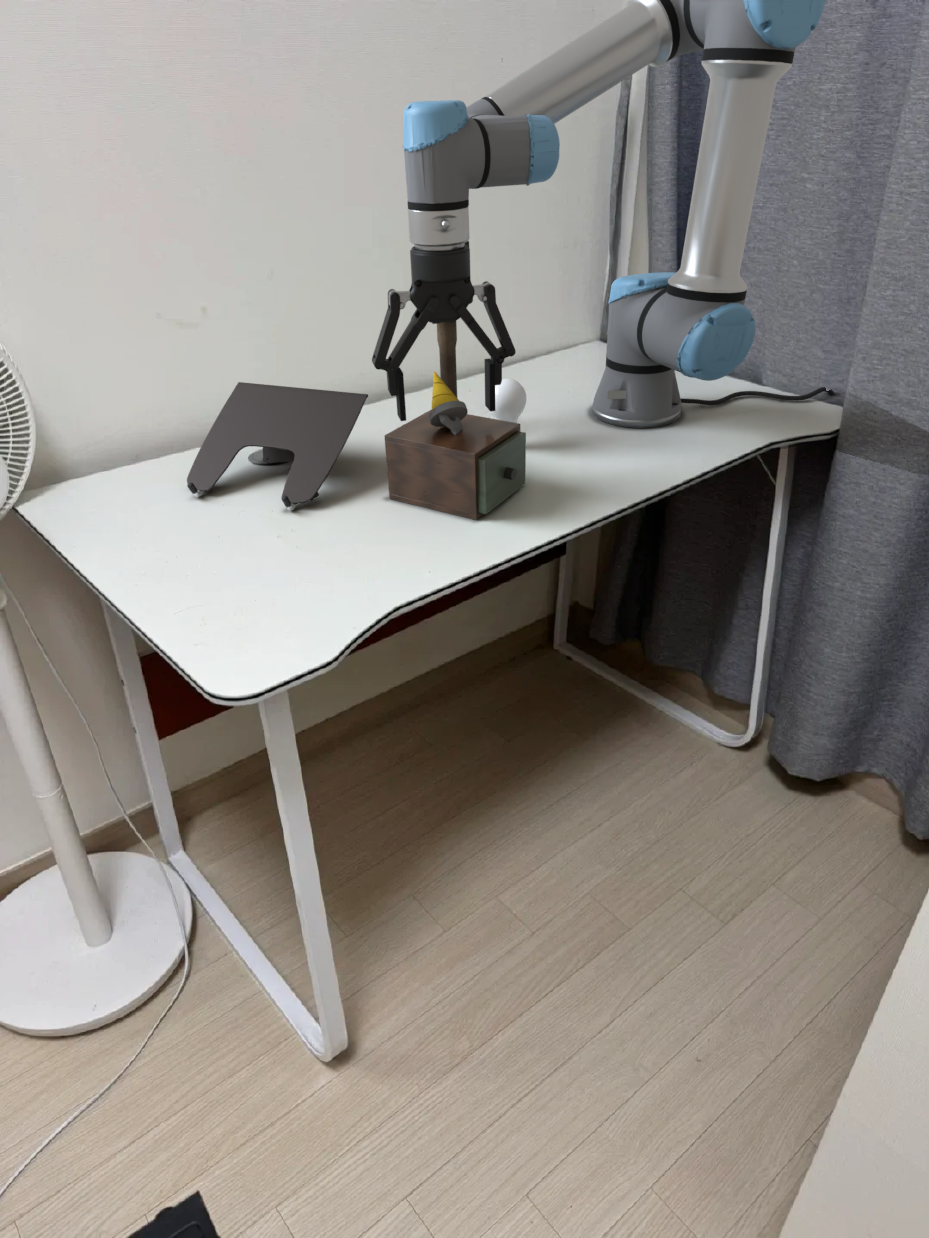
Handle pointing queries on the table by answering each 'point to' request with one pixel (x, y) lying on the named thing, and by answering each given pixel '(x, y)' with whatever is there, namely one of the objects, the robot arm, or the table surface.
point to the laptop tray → (279, 435)
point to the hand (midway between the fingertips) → (446, 413)
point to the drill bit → (446, 407)
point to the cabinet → (441, 462)
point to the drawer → (501, 471)
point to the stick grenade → (448, 351)
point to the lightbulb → (509, 400)
